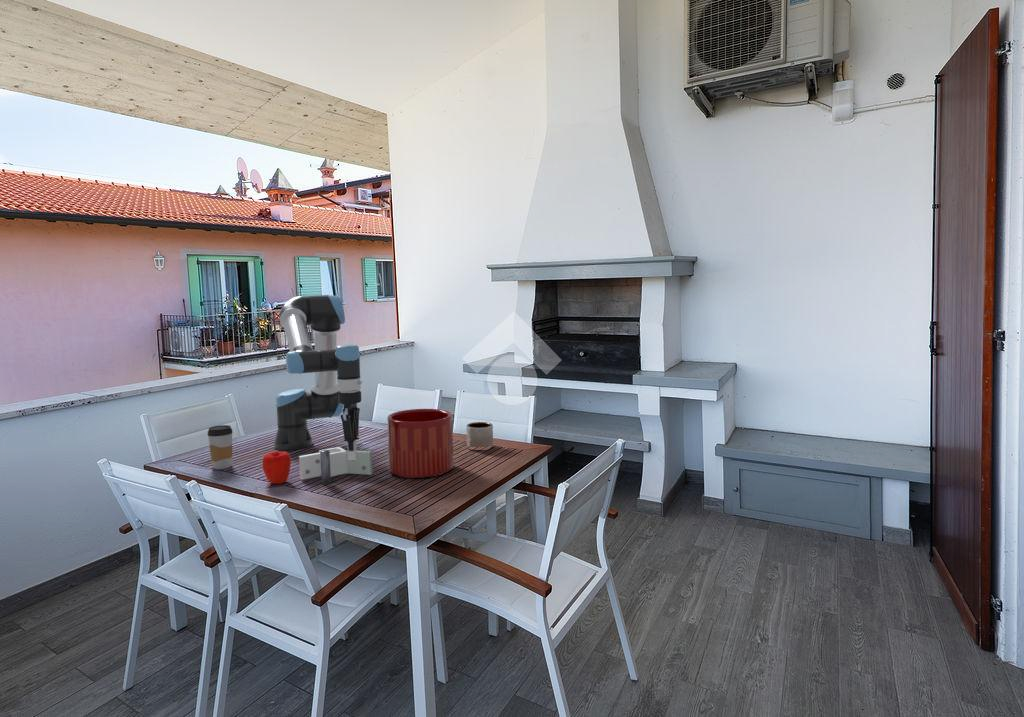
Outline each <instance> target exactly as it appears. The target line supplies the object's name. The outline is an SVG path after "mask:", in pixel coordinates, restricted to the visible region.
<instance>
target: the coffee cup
mask: <svg viewBox="0 0 1024 717" xmlns="http://www.w3.org/2000/svg"><path fill="white" fill-rule="evenodd" d="M233 432H234V431H233V429H232V427H231V425H229V424H224V425H222V424H221V425H214V426H211V427H209V428H208V431H207V437H208V443H209V444H208V445H209V453H210V459H211V464H212V467H213V470H226V469H229V468H231V467H232V465H233Z"/></svg>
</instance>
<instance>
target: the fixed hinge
mask: <svg viewBox="0 0 1024 717" xmlns="http://www.w3.org/2000/svg"><path fill="white" fill-rule="evenodd" d="M321 450H322V449H321ZM321 450H320V449H319V450H318V452H315V453H309V454H304V455H299V456H298V463H299V464H298V466H299V479H300V480H301V481H302V480H307V479H313V478H318V477H321V459H320V451H321ZM323 450H329V452H330V472H331V477H336V476H341V475H345V474H348V473H347V457H346V451H347V450H345V449H344V448H342V447H341V446H336V447H330V448H324V449H323Z"/></svg>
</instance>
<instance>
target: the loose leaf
mask: <svg viewBox="0 0 1024 717" xmlns="http://www.w3.org/2000/svg"><path fill="white" fill-rule="evenodd" d="M346 457H347V473H346V474H352V475H353V474H355V475H368V476H372V475H373V474H374V471H373V451H372V450H371V451H370V450H357V459H356V460H348V450H346Z"/></svg>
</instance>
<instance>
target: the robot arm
mask: <svg viewBox="0 0 1024 717" xmlns="http://www.w3.org/2000/svg"><path fill="white" fill-rule="evenodd" d="M344 308H345V307H344V304H343V302H342V298H341V297H340V296H338V295H329V294H324V295H323V294H322V295H317V294H316V295H299V296H293V297H292V298H290V299H288V300H287V302H285V303H284V304H283V306H282V307H281V309H280V311H279V314H278V315H279V316H278V319H279V323H280V325H281V327H282V328H283V329H284V331H285V335H286V336H285V337H286V341H287V346H288V349H289V351H288V352H286V353H285V365H286V371H287V372H288V374H293V375H294V374H299V375H300V374H301V375H302V374H310V373H314V384H312V386H311V387H310V388H311V389H310V391H306V389H305V388H295V389H289V390H286V391H282V392H280V393H278V394H277V396H276V397H275V402H276V404H275V407H276V420H277V421H276V422H277V429H276V434H275V438H274V440H273V446H274V449H276V450H278V451H279V450H280V451H289V450H290V451H292V450H299V449H305V448H308V447H310V446H312V445H313V437H312V434H311V432H310V430H309V428H308V420H317V419H324V418H325V419H327V418H330V419H331V418H334V417H335V418H336V417H339V416H340V419H341V420H340V421H341V425H342V431H343V438H344V439H343V440H344V442H345V443H346V442H347V443H346V445H347V451H348V460H356V459H357V451H358V447H357V446H358V443H357V440H360V437H359V432H360V431H359V430H360V429H359V428H360V427H359V426H360V422H359V421H360V411H361V409H360V407H358V404H359V403H361V402H362V391H361V389H362V387H361V386H362V385H361V384H363V381H362V380H361V363H360V362H361V358H360V357H361V354H360V348H359V345H357V344H339V345H337V333H338V332H339V331H340V330H341V325H344V324H345V323H346V315H345V309H344ZM307 326H310V330H312V332H314V348H313V345H312V343H311V342H312V341H311V339H310V335H309V331H308V329H307Z"/></svg>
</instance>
